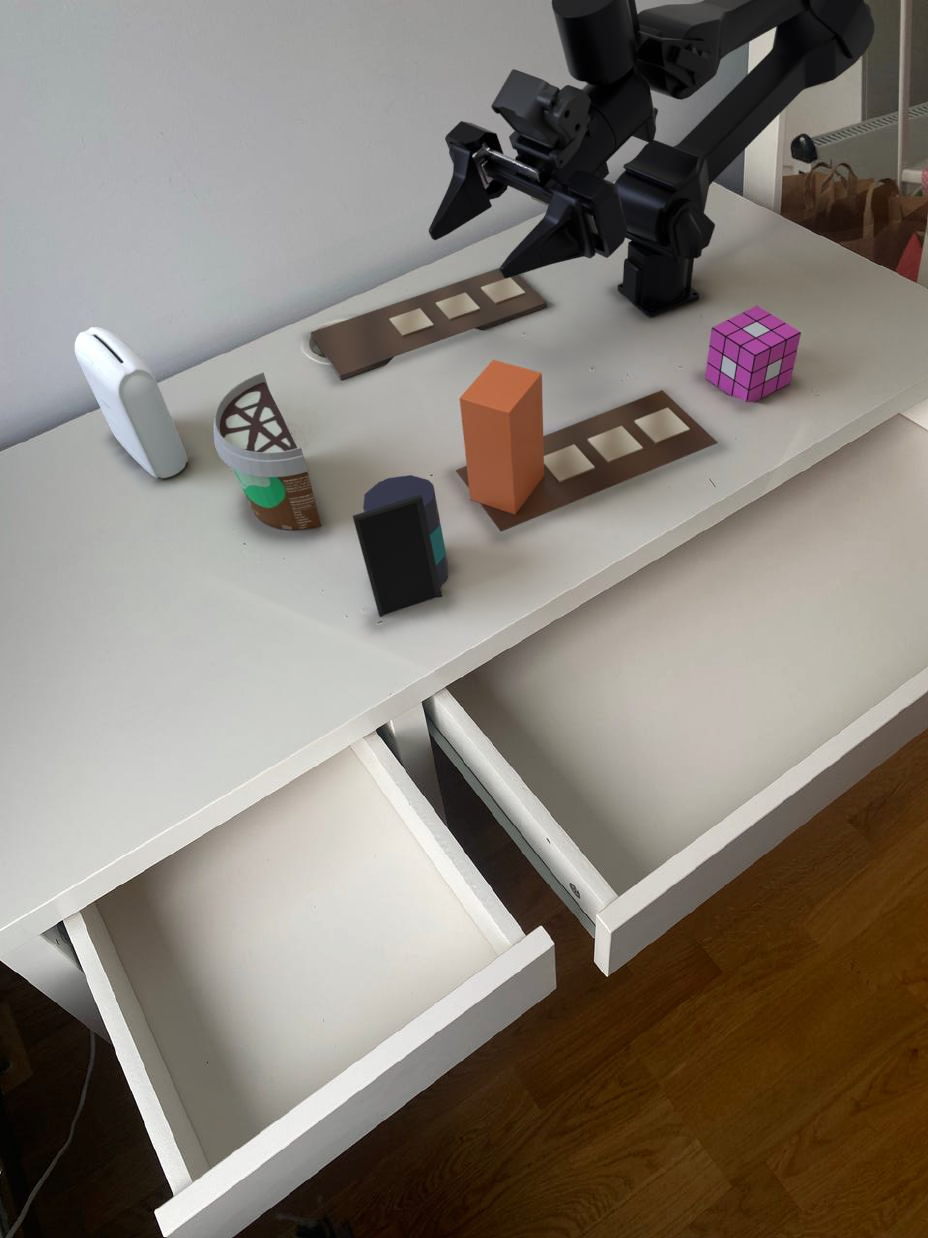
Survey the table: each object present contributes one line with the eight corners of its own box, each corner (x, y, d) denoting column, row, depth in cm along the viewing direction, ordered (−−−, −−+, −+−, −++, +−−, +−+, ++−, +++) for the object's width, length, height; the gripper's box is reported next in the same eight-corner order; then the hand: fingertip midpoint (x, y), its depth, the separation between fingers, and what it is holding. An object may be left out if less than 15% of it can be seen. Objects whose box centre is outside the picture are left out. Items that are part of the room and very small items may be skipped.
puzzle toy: (745, 407, 88) (755, 355, 84) (704, 378, 91) (711, 327, 87) (790, 383, 90) (802, 331, 85) (748, 355, 93) (757, 304, 89)
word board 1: (508, 269, 107) (508, 262, 106) (547, 307, 101) (547, 300, 101) (311, 336, 101) (309, 330, 101) (340, 380, 96) (339, 373, 95)
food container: (225, 478, 88) (192, 390, 80) (287, 457, 89) (261, 368, 81) (259, 564, 80) (227, 476, 73) (327, 540, 82) (303, 451, 74)
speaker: (450, 616, 75) (429, 514, 67) (379, 623, 75) (351, 522, 68) (453, 553, 80) (434, 453, 73) (386, 560, 81) (360, 460, 73)
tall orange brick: (500, 461, 85) (493, 359, 77) (544, 475, 84) (542, 372, 75) (470, 499, 82) (459, 397, 74) (515, 515, 81) (509, 412, 72)
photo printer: (109, 436, 93) (57, 328, 84) (147, 416, 95) (100, 308, 85) (156, 487, 88) (106, 377, 78) (196, 465, 89) (152, 355, 80)
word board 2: (661, 394, 90) (662, 387, 90) (717, 447, 85) (718, 440, 84) (455, 474, 86) (455, 468, 85) (500, 536, 80) (500, 529, 80)
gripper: (489, 15, 79) (360, 141, 78) (657, 70, 69) (512, 215, 68) (525, 129, 88) (410, 243, 87) (678, 192, 79) (551, 321, 77)
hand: (465, 254), depth 79 cm, fingers open, 9 cm apart
